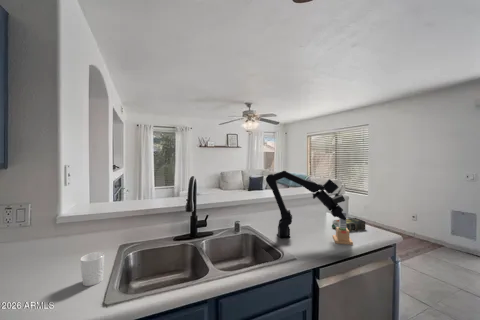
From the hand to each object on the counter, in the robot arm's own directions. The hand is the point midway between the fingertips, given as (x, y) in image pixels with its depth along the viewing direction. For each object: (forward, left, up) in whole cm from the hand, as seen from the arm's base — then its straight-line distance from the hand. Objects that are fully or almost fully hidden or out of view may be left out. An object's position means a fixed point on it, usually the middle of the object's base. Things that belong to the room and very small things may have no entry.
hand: (345, 219), depth 127 cm
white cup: (-125, -10, -13) cm, 126 cm away
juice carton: (+18, +18, -13) cm, 29 cm away
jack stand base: (-1, +1, -13) cm, 13 cm away
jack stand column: (-1, +1, -8) cm, 8 cm away
